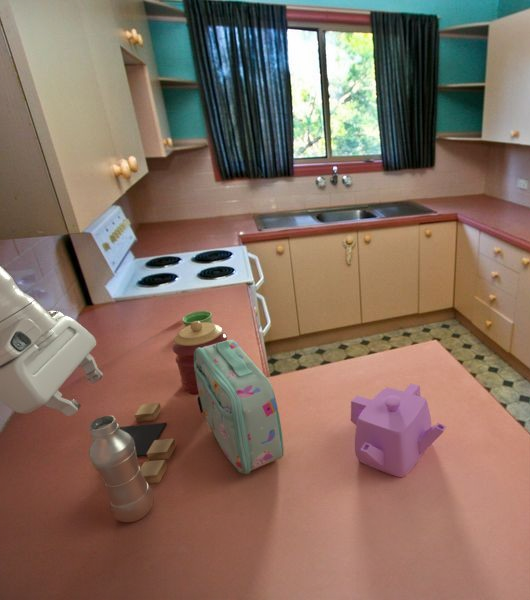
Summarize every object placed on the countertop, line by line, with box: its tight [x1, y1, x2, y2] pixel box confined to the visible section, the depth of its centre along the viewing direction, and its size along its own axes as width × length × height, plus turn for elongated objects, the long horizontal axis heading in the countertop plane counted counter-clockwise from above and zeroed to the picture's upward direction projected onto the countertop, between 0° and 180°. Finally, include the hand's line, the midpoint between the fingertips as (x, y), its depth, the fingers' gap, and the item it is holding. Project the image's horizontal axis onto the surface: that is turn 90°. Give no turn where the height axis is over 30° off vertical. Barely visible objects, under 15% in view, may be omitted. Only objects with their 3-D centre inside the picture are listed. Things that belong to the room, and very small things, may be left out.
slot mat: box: [119, 422, 167, 458], centre depth 93 cm, size 10×10×1 cm
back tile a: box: [134, 402, 162, 423], centre depth 100 cm, size 4×4×2 cm
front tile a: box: [140, 459, 168, 484], centre depth 83 cm, size 4×4×2 cm
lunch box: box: [194, 339, 284, 475], centre depth 88 cm, size 27×10×21 cm, turn 40°
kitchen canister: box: [171, 321, 228, 395], centre depth 110 cm, size 13×13×18 cm
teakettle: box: [350, 383, 447, 478], centre depth 86 cm, size 17×17×12 cm
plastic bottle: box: [88, 414, 155, 524], centre depth 72 cm, size 6×7×20 cm
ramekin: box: [181, 310, 213, 328], centre depth 142 cm, size 9×9×4 cm
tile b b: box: [146, 437, 177, 461], centre depth 89 cm, size 4×4×2 cm
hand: (87, 394), depth 71 cm, fingers open, 8 cm apart
